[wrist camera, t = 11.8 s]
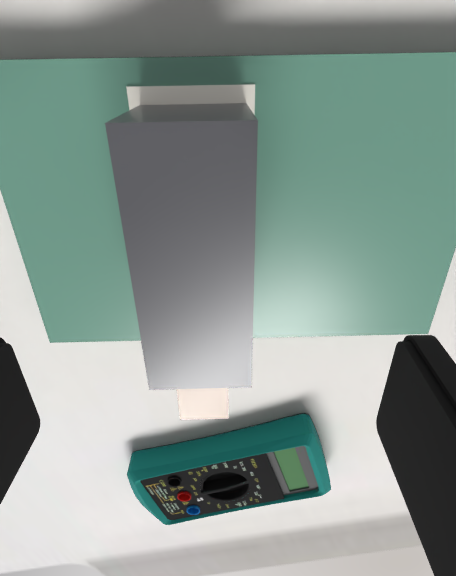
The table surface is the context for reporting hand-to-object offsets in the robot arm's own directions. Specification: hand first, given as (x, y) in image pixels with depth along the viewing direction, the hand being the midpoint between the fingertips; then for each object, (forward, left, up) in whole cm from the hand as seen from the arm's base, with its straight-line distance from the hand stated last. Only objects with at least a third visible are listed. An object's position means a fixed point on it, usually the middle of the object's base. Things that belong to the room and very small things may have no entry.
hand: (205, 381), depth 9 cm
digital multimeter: (-1, +20, -13) cm, 24 cm away
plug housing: (+1, +1, -10) cm, 11 cm away
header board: (-1, 0, -12) cm, 12 cm away
